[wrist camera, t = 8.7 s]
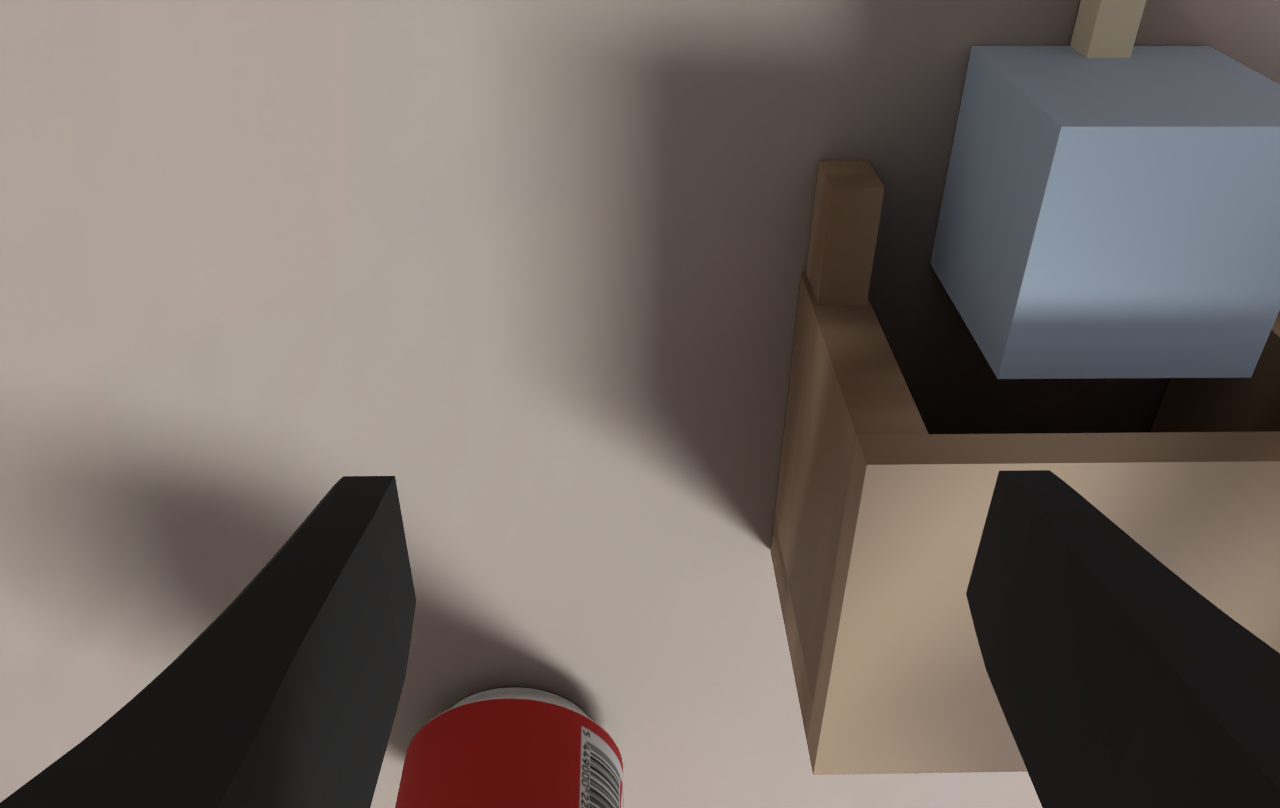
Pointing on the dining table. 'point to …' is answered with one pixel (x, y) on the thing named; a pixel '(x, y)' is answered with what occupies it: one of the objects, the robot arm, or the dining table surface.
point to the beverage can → (512, 756)
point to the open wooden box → (971, 516)
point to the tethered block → (1113, 206)
